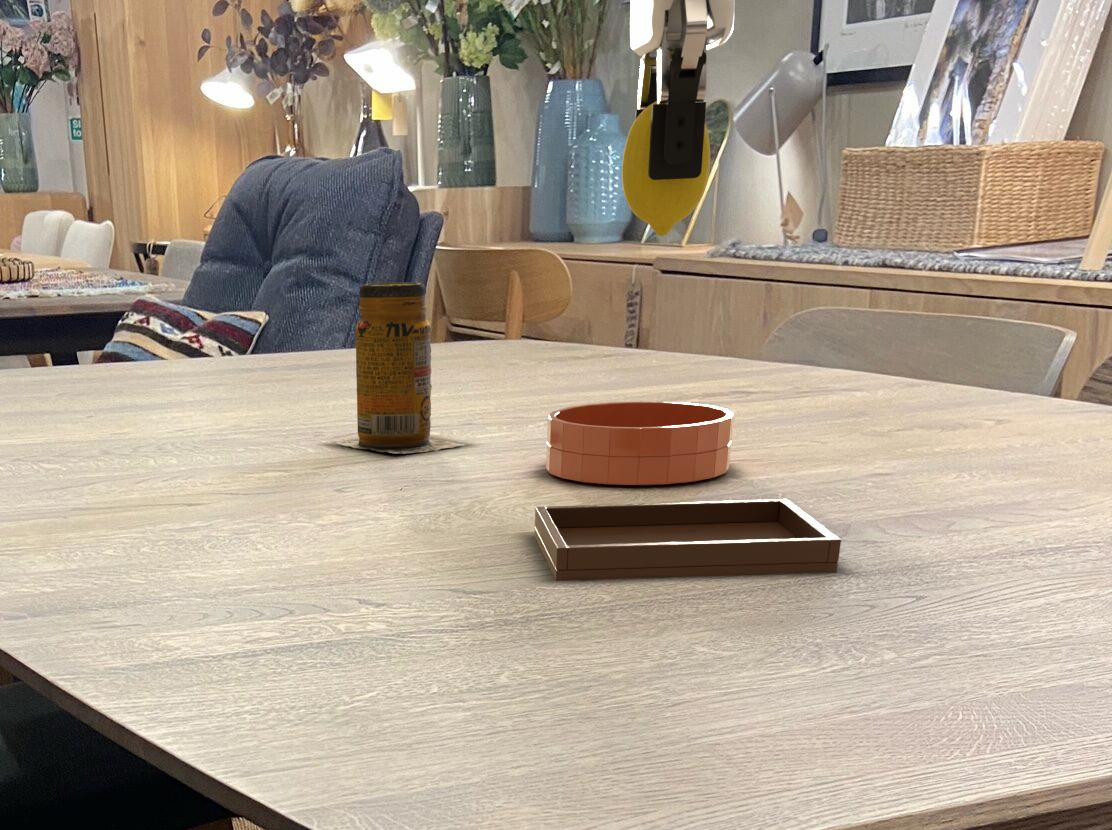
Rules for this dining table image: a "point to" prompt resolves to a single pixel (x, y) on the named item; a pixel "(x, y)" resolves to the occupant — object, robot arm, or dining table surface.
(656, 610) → the dining table surface
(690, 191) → the lemon
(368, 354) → the condiment
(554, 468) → the bowl
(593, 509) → the tray
